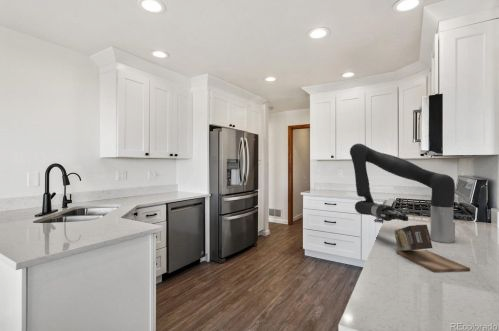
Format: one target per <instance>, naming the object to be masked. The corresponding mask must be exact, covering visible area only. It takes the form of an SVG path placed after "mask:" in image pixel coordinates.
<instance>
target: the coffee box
mask: <svg viewBox="0 0 499 331" xmlns="http://www.w3.org/2000/svg"><path fill="white" fill-rule="evenodd" d="M393 232H394V235H395V236H394V237H395V242H396V246H397V251H414V250H427V249H433V244H432V241H431V239H430V231H429V228H428V225H427V224H414V225H407V226H404V227H401V228H398V229H394V230H393Z"/></svg>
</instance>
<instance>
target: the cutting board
mask: <svg viewBox="0 0 499 331" xmlns="http://www.w3.org/2000/svg"><path fill="white" fill-rule="evenodd" d="M395 254H397V255H399V256H400V257H402V258H405V259H407V260H409V261H411V262H413V263H415V264H416V265H418V266H420V267H422V268H424V269H427V270H429V271H430V272H433V273H452V272H455V273H456V272H471V268H470V267H468V266H466V265H464V264H462V263H459V262H456V261H454V260H451V259H449V258H446V257H444V256H442V255H439V254H437V253H434V252H433V251H430V250H427V249H420V250H412V251H398V250H396V251H395Z"/></svg>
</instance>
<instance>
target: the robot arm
mask: <svg viewBox="0 0 499 331" xmlns="http://www.w3.org/2000/svg"><path fill="white" fill-rule="evenodd" d="M349 154H350V157H351V160H352V164H353V169H354V178H355V188H356V194H357V196H358V197H359V198H361V197H362V198H364V199H365V200H358V201H357V202H355V203H354V204H355V205H354V209H355V211H356V212H357V213H358V214H359V215H366V216H372V217H375V218H377V219H379V220H381V221H385V222H390V221H392V220H397V221H403V222H409V216H408V215H407V212H406V211H403V212H402V213H401V212H400V211H399V210H398V211H397V210H395V209H394V207H393V206H391V205H388V204H382V203H377V202H374V198H373V196H372V193H371V187H370V180H369V176H368V170H367V163H368V164H369V163H370V164H373V165H374V166H377V167H378V168H380V169H382V170H383V171H385V172H387V173H389V174H392V175H394V176H397V177H400V178H403V179H406V180H410V181H414V182H417V183H419V184H422V185H423V186H426V187H427V188H428V187H429V188H430V189H431V199H430V220H429V221H430V226H429V228H430V231H429V235H430V239H431V240H432V241H434V242H438V243H445V244H449V243H450V244H451V243H454V242H456V222H455V221H454V203H455V196H456V184H455V179H454V178H452V176H450V175H448V174H443V173H439V172H438V173H437V172H434V171H430V170H428V169H425V168H422V167H420V166H419V165H417V164H415V163H413V162H410V161H408V160H406V159H403V158H402V157H398V156H395V155H391V154H388V153H384V152H379V151H377V150H375V149H373V148H370V147H369V146H366V145H365V144H362V143H355V144H353V145H351V146H350V149H349Z"/></svg>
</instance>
